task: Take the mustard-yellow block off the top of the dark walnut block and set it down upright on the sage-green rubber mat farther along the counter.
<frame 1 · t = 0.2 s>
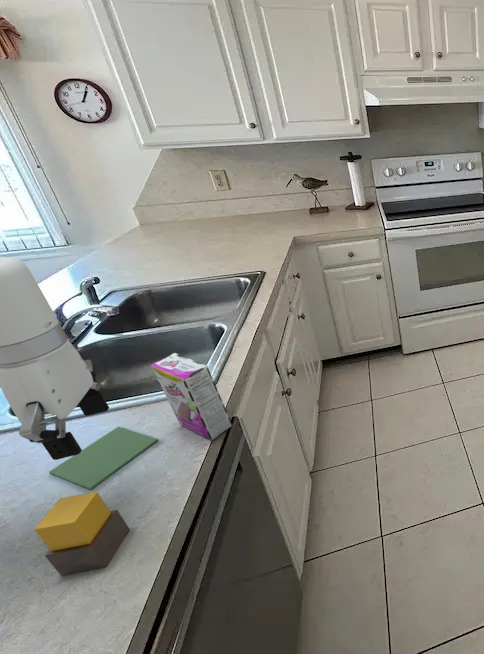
hand: (83, 432, 66), 17 cm above the worktop, tool pointing down, fingers open, 9 cm apart
walnut block: (97, 551, 65), on the worktop, touching mustard block
green mat: (106, 456, 82), on the worktop
candy bar box: (206, 426, 89), on the worktop
mustard block: (82, 531, 63), point 5 cm above the worktop, touching walnut block
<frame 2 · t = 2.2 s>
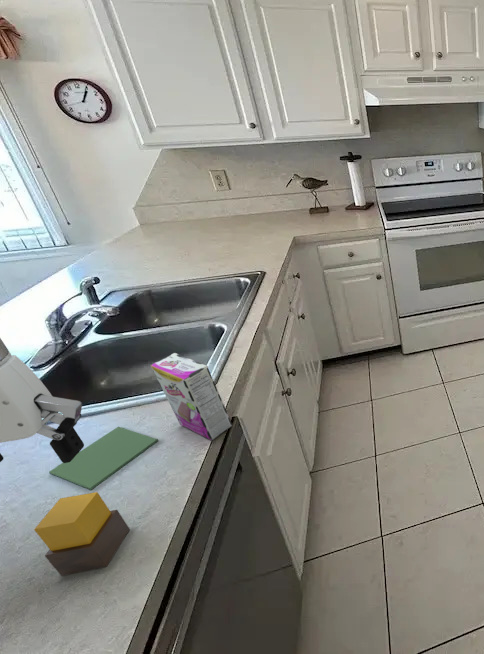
hand: (33, 461, 56), 20 cm above the worktop, tool pointing down, fingers open, 9 cm apart
nothing on the worktop moved.
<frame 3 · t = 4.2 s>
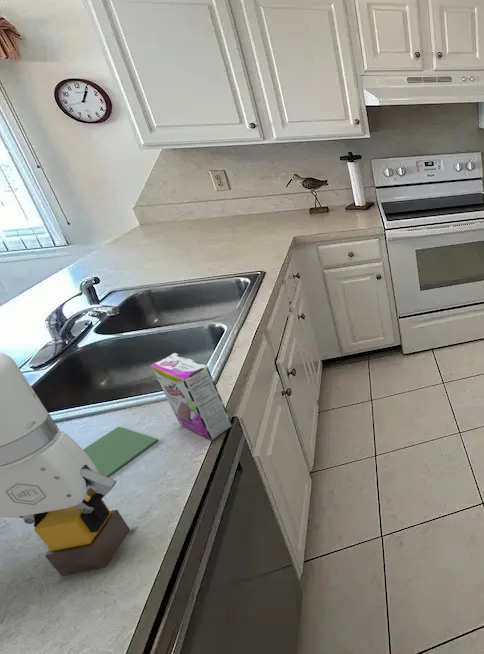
hand: (79, 526, 62), 6 cm above the worktop, tool pointing down, fingers closed on mustard block, 5 cm apart
mustard block: (82, 531, 63), point 5 cm above the worktop, touching gripper, walnut block
everything else where it was.
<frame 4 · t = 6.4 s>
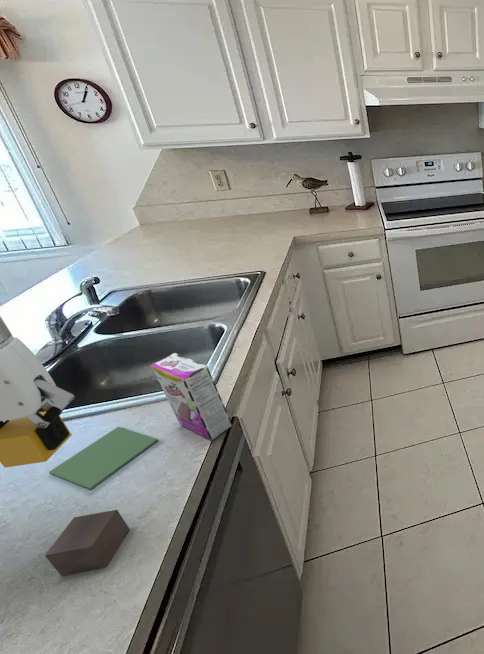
hand: (35, 444, 59), 20 cm above the worktop, tool pointing down, fingers closed on mustard block, 5 cm apart
walnut block: (97, 551, 65), on the worktop
mustard block: (39, 450, 59), point 19 cm above the worktop, touching gripper
everything else where it was.
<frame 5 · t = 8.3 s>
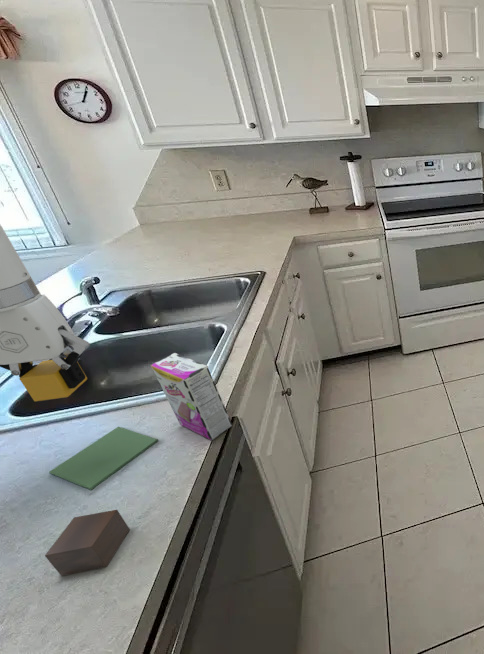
hand: (58, 385, 73), 19 cm above the worktop, tool pointing down, fingers closed on mustard block, 5 cm apart
mustard block: (62, 389, 73), point 18 cm above the worktop, touching gripper
everything else where it was.
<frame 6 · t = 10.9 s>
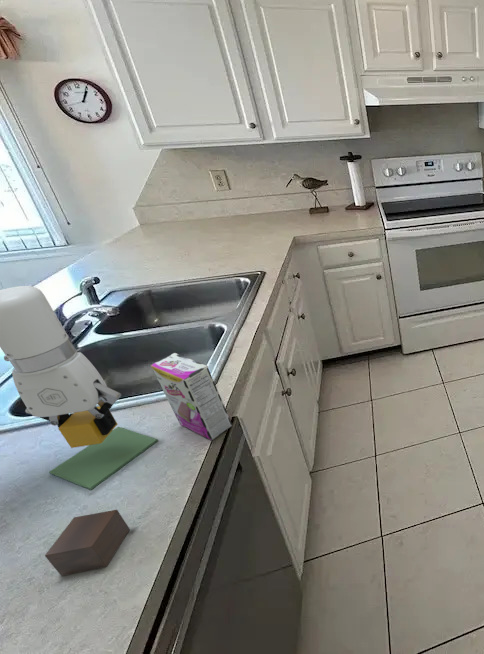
hand: (92, 431, 79), 7 cm above the worktop, tool pointing down, fingers closed on mustard block, 5 cm apart
mustard block: (95, 435, 80), point 5 cm above the worktop, touching gripper
everything else where it was.
when the fingers open (2 cm above the worktop, at t = 12.6 s): mustard block stays where it is, resting on green mat.
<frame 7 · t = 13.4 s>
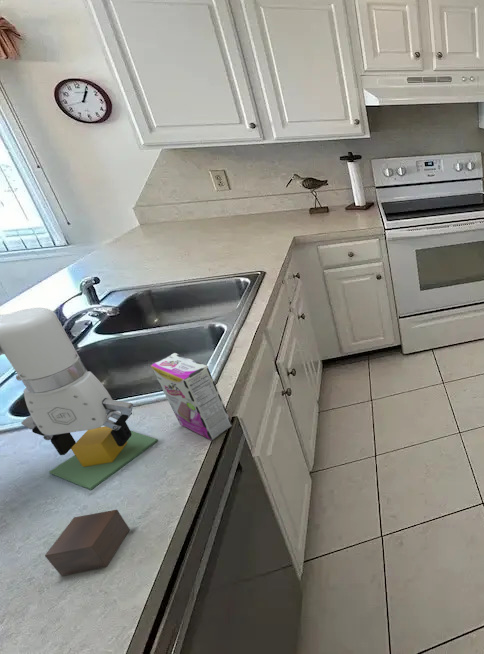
hand: (97, 445, 80), 3 cm above the worktop, tool pointing down, fingers open, 9 cm apart
mustard block: (106, 454, 82), resting on green mat
everything else where it was.
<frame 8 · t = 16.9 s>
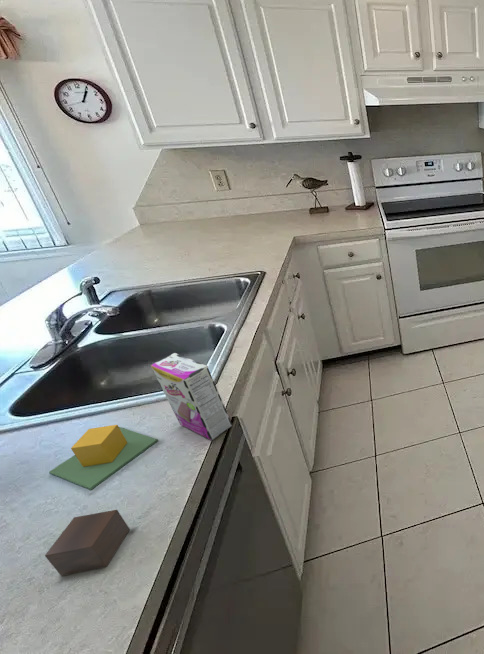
nothing on the worktop moved.
at the end: mustard block inside the target area on the green mat (0.1 cm from its centre), point 0.5 cm above the green mat's base; mustard block touching green mat; mustard block tilted 0° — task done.
